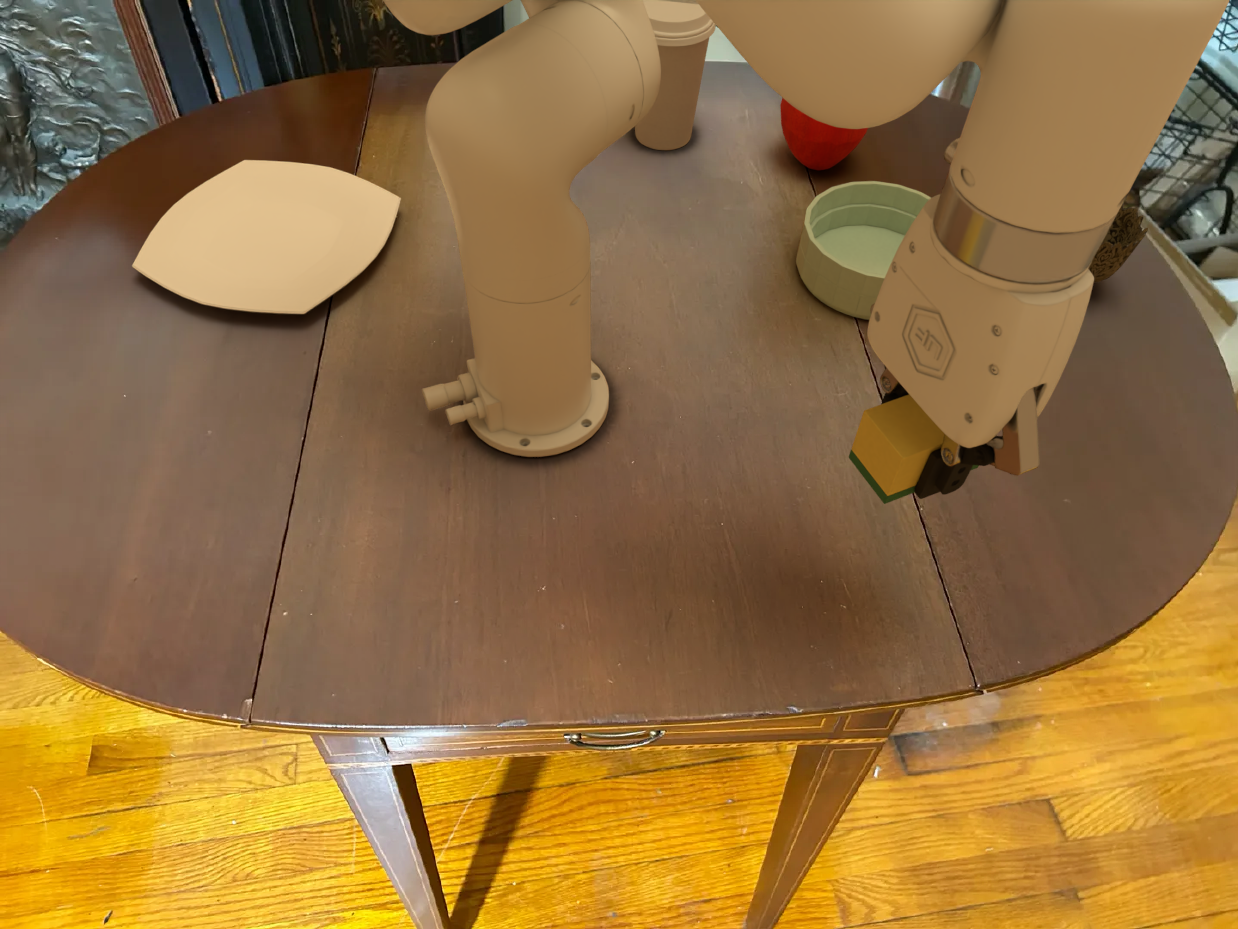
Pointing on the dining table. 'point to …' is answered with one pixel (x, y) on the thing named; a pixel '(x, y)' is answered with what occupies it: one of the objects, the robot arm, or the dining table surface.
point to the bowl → (854, 241)
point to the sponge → (895, 447)
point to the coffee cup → (676, 71)
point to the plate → (269, 237)
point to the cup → (1118, 243)
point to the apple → (816, 138)
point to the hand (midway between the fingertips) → (914, 458)
